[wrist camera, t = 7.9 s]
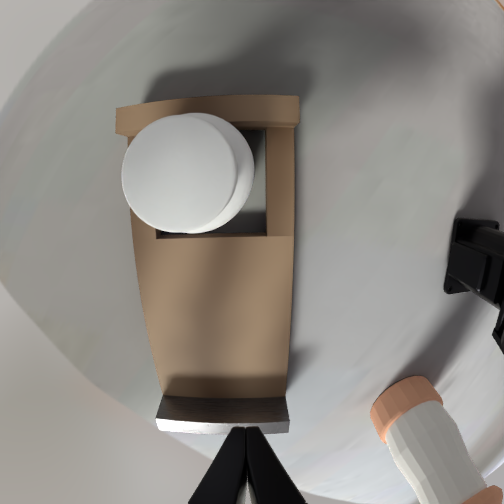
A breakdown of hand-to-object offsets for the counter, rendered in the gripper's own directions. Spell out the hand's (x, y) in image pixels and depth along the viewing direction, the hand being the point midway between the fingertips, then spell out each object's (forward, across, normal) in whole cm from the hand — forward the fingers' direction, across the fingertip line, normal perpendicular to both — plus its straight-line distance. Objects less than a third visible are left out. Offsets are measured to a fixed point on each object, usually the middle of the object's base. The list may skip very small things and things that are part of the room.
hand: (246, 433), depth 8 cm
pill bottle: (+12, +2, -8) cm, 15 cm away
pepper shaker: (+12, -16, +14) cm, 25 cm away
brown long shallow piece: (+12, +2, -1) cm, 12 cm away
